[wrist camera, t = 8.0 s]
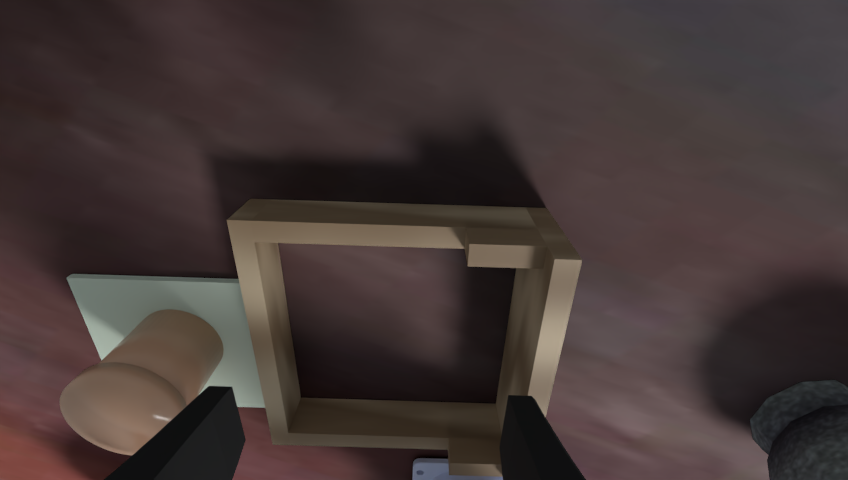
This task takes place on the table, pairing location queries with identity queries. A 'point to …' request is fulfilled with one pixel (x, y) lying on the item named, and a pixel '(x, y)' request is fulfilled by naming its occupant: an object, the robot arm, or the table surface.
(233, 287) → the mat
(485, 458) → the wooden frame
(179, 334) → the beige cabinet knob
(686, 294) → the table surface
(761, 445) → the mortar and pestle
